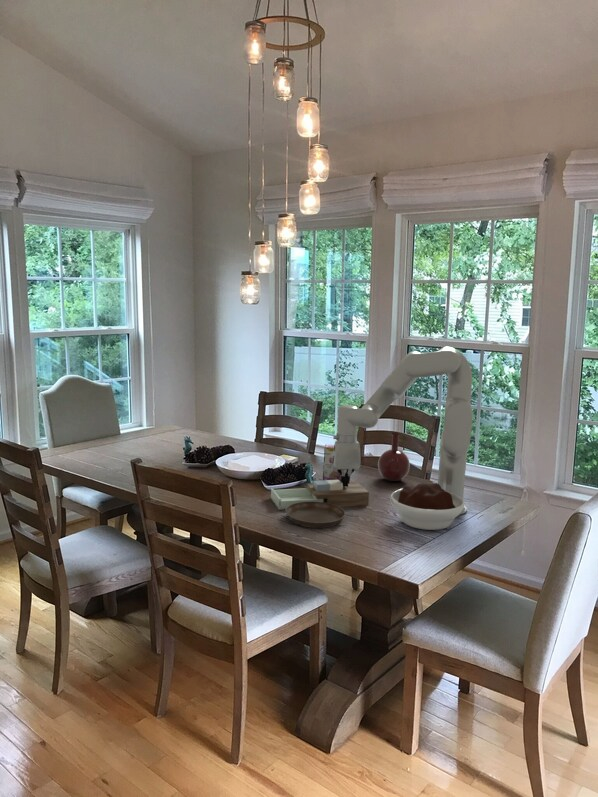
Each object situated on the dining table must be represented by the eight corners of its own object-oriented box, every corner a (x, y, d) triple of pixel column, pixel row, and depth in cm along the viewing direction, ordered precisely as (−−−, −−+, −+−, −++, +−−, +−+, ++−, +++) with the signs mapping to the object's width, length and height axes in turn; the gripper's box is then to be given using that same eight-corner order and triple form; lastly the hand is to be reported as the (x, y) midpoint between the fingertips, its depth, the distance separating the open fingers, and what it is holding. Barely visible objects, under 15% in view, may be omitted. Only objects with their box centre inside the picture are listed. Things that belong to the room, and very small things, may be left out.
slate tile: (329, 490, 253) (330, 484, 252) (317, 491, 251) (317, 484, 251) (325, 486, 257) (325, 480, 257) (313, 487, 256) (313, 480, 255)
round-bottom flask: (380, 474, 294) (383, 429, 290) (411, 478, 289) (414, 432, 286) (373, 482, 281) (376, 435, 278) (405, 486, 277) (408, 439, 274)
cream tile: (342, 489, 254) (342, 483, 254) (329, 490, 253) (330, 484, 252) (338, 485, 259) (338, 479, 258) (325, 486, 257) (325, 480, 257)
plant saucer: (356, 525, 232) (357, 515, 232) (304, 534, 222) (305, 525, 222) (324, 507, 250) (324, 498, 249) (274, 515, 240) (275, 506, 239)
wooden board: (368, 505, 253) (368, 492, 252) (316, 508, 248) (317, 495, 247) (355, 493, 266) (355, 481, 265) (306, 496, 261) (306, 483, 260)
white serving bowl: (412, 507, 252) (414, 468, 249) (475, 524, 236) (478, 482, 234) (374, 524, 233) (377, 482, 230) (440, 544, 217) (444, 499, 215)
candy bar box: (322, 486, 274) (323, 447, 271) (323, 483, 279) (324, 444, 276) (350, 488, 273) (352, 448, 270) (350, 484, 278) (352, 445, 275)
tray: (323, 507, 249) (323, 496, 248) (279, 509, 244) (279, 499, 244) (312, 495, 262) (313, 485, 261) (270, 498, 257) (270, 488, 256)
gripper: (331, 441, 248) (328, 489, 251) (369, 440, 252) (366, 487, 255) (324, 436, 255) (322, 483, 258) (362, 435, 259) (359, 481, 262)
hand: (344, 485), depth 257 cm, fingers closed
